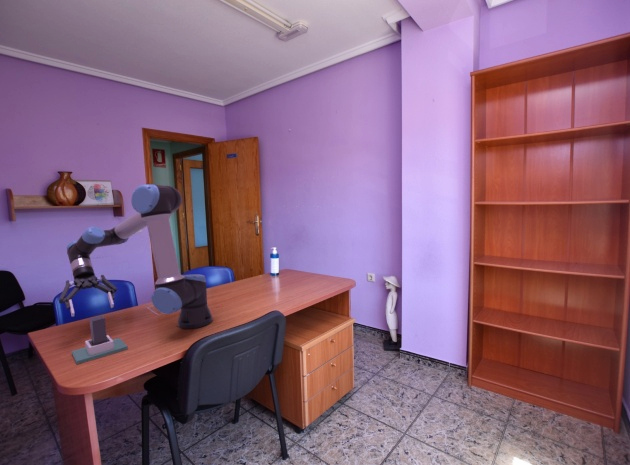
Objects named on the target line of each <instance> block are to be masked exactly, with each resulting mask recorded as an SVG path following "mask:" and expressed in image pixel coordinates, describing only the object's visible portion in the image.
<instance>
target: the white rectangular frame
mask: <svg viewBox="0 0 630 465" xmlns="http://www.w3.org/2000/svg"><path fill="white" fill-rule="evenodd" d="M152 307H154V305H151V306H147V309H148V310H149V311H150V312H153V313H154V314H156V315H157V316H160V315H165V314H164V313H157V312H156V311H153V310H152V309H151V308H152Z"/></svg>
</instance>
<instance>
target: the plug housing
mask: <svg viewBox="0 0 630 465" xmlns="http://www.w3.org/2000/svg"><path fill="white" fill-rule="evenodd" d="M89 328H90V338H91V339H92V346H95V345H98V344H102V343H106V342H107V336H106V335H107V328H106V318H105V317H104V316H103V314H101V315H97V316H92V317H89ZM91 339H90V340H91Z"/></svg>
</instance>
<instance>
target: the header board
mask: <svg viewBox="0 0 630 465" xmlns="http://www.w3.org/2000/svg"><path fill="white" fill-rule="evenodd" d="M106 336H107V342H106V343H102V344H98V345H95V346H92V339H88V340H85V342H84V343H85V346H84V347H82V348H81V347H80V348H77V349H73V350H71V355H72V356H73V359H74V362H75V364H76V365H79V364H80V365H81V364H82V363H83V364H84V363H87V362H90V361H92V360H93V361H94V360H96V359H100V358H103V357H106V356H110V355H113V354H117V353H119V352H123V351H126V350H128V349H129V348H128V345H127V344H126V343H125V342H124V340H122V338H120V337H118V338H114V339H113V338H112V337H110V335H109V334H106Z"/></svg>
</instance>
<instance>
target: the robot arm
mask: <svg viewBox="0 0 630 465" xmlns="http://www.w3.org/2000/svg"><path fill="white" fill-rule="evenodd" d="M130 202H131V206H132V209H133V210H135V213H134V214H133V215H131V216H130V217H128V218H126V219H125V220H123V221H122V222H120V223H119V224H118V225H116V226H114V227H112V228H111V229H104V230H103V229H102V228H101V227H96V226H89V227H88V228H87V229H86V230H84V231H83V233H82V235H80V237H79V238H78V239H77V240H73V241H71V242H69V243H68V244H67V245H66V253H67V257H68V260H69V264H70V268H71V273H72V276H73V280H69V279H68V280H65V286H64V288H63V290H62V293H61V294H60V296H59V298H58V299H59V300H58V303H59V304H62V303H64V304H65V308H66V310H70V311H69V312H70V314H71V317H75V309H74V304H73V301H72V299H73V298H74V297H75V296H76V295H77V293H79V292H80V291H81V290H87V289H92V288H94V289H97V290H99V291H102V292H103V293H106V294H107V298H108V301H109V305H110V308H111V309H112V308H114V306H115V303H114V300H115V293H117V291H118V287H117V286H116V285H114V284H113V283H112V282H110V280H108V279H107V278H106V277H105V275H104V274H101V275H100V276H96V274H95V270H94V267H93V264H92V263H93V262H92V261H91V256H90V255H92V253H93V252H94V251H95V250H96V249H97V248H100V247H101V248H103V247H107V246H108V247H109V246H117V245H122V244H126V243H127V242H128V241H129V239H130V237H131V236H133V235H135V234H136V233H138V232H139V231H141V230H143V229H145V228H147V231H148V232H147V233H148V236H149V241H150V242H149V243H150V246H151V251H152V255H153V260H154V265H155V270H156V274H157V275H156V276H157V279H156V281H155V282H154V284H155V290H154V291H152V294H151V302H152V306H153V307H154V309H156V310H157V311H159V312H160V314H162V313H164V314H163V315H170V314H174V313H176V312H179V314H178V319H177V327H178V328H180V329H186V330H188V329H189V330H191V329H192V330H193V329H199V328H202V327H205V326H208V325H210V324H211V323H212V322H213V315H212V313H211V312H212V311H211V310H210V309H209V308H210V307H209V305H208V294H207V280H206V276H205V275H204V274H198V273H197V274H196V273H194V274H181V272H180V267H179V262H178V256H177V253H176V248H175V244H174V238H173V233H172V228H171V227H172V226H171V222H170V218H171V217H172V214H173V213H174V212H176V211H177V210H178V209H180V208H181V205H182V202H183V198H182V195H181V193H180V191H179V190H178V189H177V188H175V187H174V186H170V185H160V184H152V183H149V184H141V185H138V186H137V187H136V188H135V189H134V191H133V192H132V194H131V201H130ZM73 285H74V286H75V287H74V288H73V289H72V291H70V292H69V290H70V288H71V287H72V286H73ZM68 293H69V294H68Z"/></svg>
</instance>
